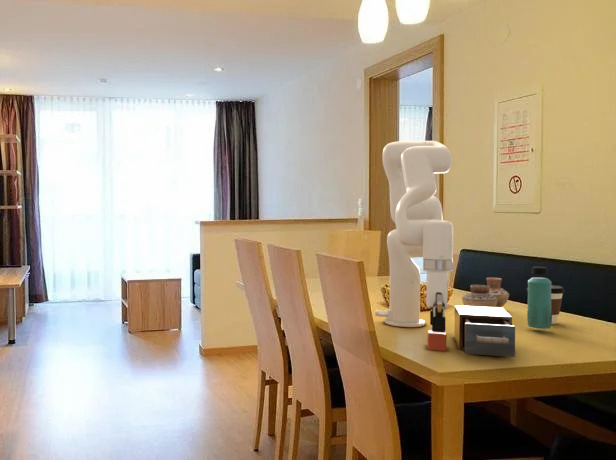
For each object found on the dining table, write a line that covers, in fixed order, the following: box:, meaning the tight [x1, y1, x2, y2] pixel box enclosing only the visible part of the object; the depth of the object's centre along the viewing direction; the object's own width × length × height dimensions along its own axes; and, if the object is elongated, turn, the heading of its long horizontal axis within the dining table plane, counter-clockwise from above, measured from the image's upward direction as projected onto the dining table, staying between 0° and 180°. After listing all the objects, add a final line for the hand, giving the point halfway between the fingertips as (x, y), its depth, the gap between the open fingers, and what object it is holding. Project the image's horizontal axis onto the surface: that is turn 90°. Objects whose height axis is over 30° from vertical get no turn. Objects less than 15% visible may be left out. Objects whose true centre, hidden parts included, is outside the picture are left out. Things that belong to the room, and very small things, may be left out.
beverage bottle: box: [526, 266, 553, 330], centre depth 177 cm, size 6×7×20 cm
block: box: [427, 329, 448, 352], centre depth 158 cm, size 4×4×4 cm
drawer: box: [463, 317, 516, 358], centre depth 150 cm, size 18×11×8 cm, turn 161°
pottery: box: [461, 277, 510, 308], centre depth 207 cm, size 11×25×12 cm, turn 136°
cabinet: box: [453, 305, 513, 351], centre depth 161 cm, size 15×13×10 cm
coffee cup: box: [526, 284, 566, 325], centre depth 191 cm, size 11×11×12 cm
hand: (437, 328), depth 157 cm, fingers open, 9 cm apart
